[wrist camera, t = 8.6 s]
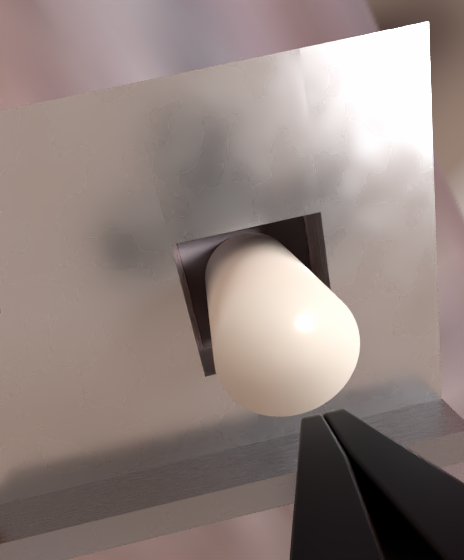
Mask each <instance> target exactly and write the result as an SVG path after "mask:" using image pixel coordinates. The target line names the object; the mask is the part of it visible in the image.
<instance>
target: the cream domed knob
mask: <svg viewBox="0 0 464 560" xmlns="http://www.w3.org/2000/svg"><path fill="white" fill-rule="evenodd" d="M205 285H206V294H207V303H208V312H209V321H210V331H211V340H212V349H213V358H214V365H215V371H216V374H217V377H218V380H219V382H220V383H221V385H222V387H223V389H224V390H225V391H226V393H227V394H228V395H229V396H230V397H231V398H232V399H233V400H234V401H235V402H237V403H238V404H239V405H241V406H242V407H244V408H246V409H248V410H250V411H252V412H255V413H258V414H262V415H267V416H275V417H284V416H293V415H299V414H302V413H305V412H308V411H311V410H313V409H316V408H318V407H319V406H321V405H323V404H325V403H326V402H327V401H329V400H330V399H332V398H333V397H334V396H335V395H336V394H337V393H338V392H339V391H340V390H341V389H342V388H343V387H344V386H345V384H346V383H347V382H348V380H349V379H350V377H351V375H352V373H353V371H354V369H355V367H356V364H357V361H358V357H359V351H360V336H359V330H358V326H357V323H356V320H355V319H354V317H353V315H352V313H351V311H350V310H349V309H348V307H347V306H346V305H345V304H344V303H343V302H342V301H341V300H340V299H339V298H338V297H337V296H336V295H335V294H334V293H333V292H332V291H331V290H330V289H329V288H328V287H327V286H326V285H325V284H324V283H322V282H321V281H320V280H319V279H318V278H317V277H316V276H315V275H314V274H313V273H312V272H311V271H310V270H309V269H308V268H307V267H306V266H305V265H304V264H303V263H301V262H300V261H299V260H298V259H297V258H296V257H295V256H294V255H293V254H292V253H291V252H290V251H289V250H288V249H287V248H286V247H285V246H284V245H283V244H282V243H280V242H279V241H278V240H276V239H275V238H273V237H271V236H269V235H266V234H262V233H256V232H247V233H241V234H238V235H235V236H233V237H230V238H229V239H227V240H225V241H224V242H223V243H221V244H220V245H219V246H218V247H217V248H216V249H215V251H214V252H213V253H212V255H211V257H210V258H209V261H208V263H207V267H206V271H205Z"/></svg>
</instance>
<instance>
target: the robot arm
mask: <svg viewBox="0 0 464 560" xmlns="http://www.w3.org/2000/svg"><path fill="white" fill-rule="evenodd" d="M290 560H464V483H463V482H461V481H460V480H458V479H457V478H455V477H453V476H452V475H450V474H449V473H447V472H445V471H444V470H442V469H441V468H439V467H437V466H436V465H434V464H432V463H431V462H429V461H428V460H426V459H424V458H423V457H421V456H420V455H418V454H416V453H415V452H413V451H412V450H410V449H408V448H407V447H405V446H403V445H402V444H400V443H399V442H397V441H395V440H394V439H392V438H391V437H389V436H387V435H386V434H384V433H383V432H381V431H379V430H378V429H376V428H374V427H373V426H371V425H370V424H368V423H366V422H365V421H363V420H362V419H360V418H358V417H357V416H355V415H354V414H352V413H350V412H349V411H347V410H345V409H342V408H341V409H336V410H332V411H328V412H325V413H324V414H323V416H322V415H321V414H315V415H311V416H307V417H303V418H302V419H301V425H300V438H299V450H298V463H297V475H296V487H295V500H294V512H293V525H292V537H291V549H290Z"/></svg>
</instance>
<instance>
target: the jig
mask: <svg viewBox="0 0 464 560" xmlns="http://www.w3.org/2000/svg"><path fill="white" fill-rule="evenodd" d="M429 51H430V50H429V22H424V23H420V24H415V25H410V26H405V27H400V28H395V29H391V30H386V31H381V32H376V33H371V34H367V35H362V36H357V37H352V38H347V39H343V40H338V41H333V42H328V43H323V44H319V45H314V46H309V47H304V48H299V49H295V50H290V51H285V52H280V53H275V54H271V55H266V56H261V57H256V58H251V59H247V60H242V61H237V62H232V63H227V64H223V65H218V66H213V67H208V68H203V69H198V70H194V71H189V72H184V73H179V74H174V75H170V76H165V77H160V78H155V79H150V80H146V81H141V82H136V83H131V84H126V85H122V86H117V87H112V88H107V89H102V90H98V91H93V92H88V93H83V94H78V95H74V96H69V97H64V98H59V99H54V100H50V101H45V102H40V103H35V104H30V105H26V106H21V107H16V108H11V109H6V110H1V111H0V560H65V559H69V558H73V557H77V556H81V555H85V554H89V553H94V552H98V551H102V550H106V549H110V548H114V547H118V546H122V545H126V544H130V543H134V542H138V541H142V540H146V539H150V538H155V537H159V536H163V535H167V534H171V533H175V532H179V531H183V530H187V529H191V528H195V527H199V526H203V525H207V524H211V523H216V522H220V521H224V520H228V519H232V518H236V517H240V516H244V515H248V514H252V513H256V512H260V511H264V510H268V509H272V508H277V507H281V506H285V505H289V504H293V503H294V500H295V487H296V475H297V463H298V450H299V438H300V425H301V419H302V418H303V417H307V416H311V415H315V414H321V415H322V416H323V414H324V413H325V412H328V411H332V410H336V409H341V408H342V409H345V410H347V411H349V412H350V413H352V414H354V415H355V416H357V417H358V418H360V419H362V420H363V421H365V422H366V423H368V424H370V425H371V426H373V427H374V428H376V429H378V430H379V431H381V432H383V433H384V434H386V435H387V436H389V437H391V438H392V439H394V440H395V441H397V442H399V443H400V444H402V445H403V446H405V447H407V448H408V449H410V450H412V451H413V452H415V453H416V454H418V455H420V456H421V457H423V458H424V459H426V460H428V461H429V462H431V463H432V464H434V465H436V466H437V467H443V466H447V465H451V464H456V463H460V462H464V420H463V419H462V418H461V417H460V416H459V415H458V414H457V413H456V412H455V411H454V410H453V409H452V408H451V407H450V406H449V405H448V404H447V403H446V402H445V401H444V400H442V399H441V370H440V341H439V312H438V282H437V253H436V224H435V195H434V166H433V137H432V108H431V79H430V52H429ZM299 216H304V222H305V229H306V236H307V242H308V249H309V256H310V263H311V270H312V273H313V274H314V275H315V276H316V277H317V278H318V279H319V280H320V281H321V282H322V283H324V284H325V285H326V286H327V287H328V288H329V289H330V290H331V291H332V292H333V293H334V294H335V295H336V296H337V297H338V298H339V299H340V300H341V301H342V302H343V303H344V304H345V305H346V306H347V307H348V309H349V310H350V311H351V313H352V315H353V317H354V319H355V320H356V323H357V326H358V330H359V336H360V351H359V357H358V361H357V364H356V367H355V369H354V371H353V373H352V375H351V377H350V379H349V380H348V382H347V383H346V384H345V386H344V387H343V388H342V389H341V390H340V391H339V392H338V393H337V394H336V395H335V396H334V397H333V398H332V399H330V400H329V401H327V402H326V403H325V404H323V405H321V406H319V407H318V408H316V409H313V410H311V411H308V412H305V413H302V414H299V415H293V416H284V417H275V416H267V415H262V414H258V413H255V412H252V411H250V410H248V409H246V408H244V407H242V406H241V405H239V404H238V403H237V402H235V401H234V400H233V399H232V398H231V397H230V396H229V395H228V394H227V393H226V391H225V390H224V389H223V387H222V385H221V383H220V382H219V380H218V377H217V374H216V371H215V365H214V358H213V349H212V346H208V347H203V344H202V340H201V336H200V332H199V329H198V325H197V321H196V317H195V313H194V309H193V305H192V301H191V297H190V293H189V289H188V285H187V282H186V278H185V274H184V270H183V266H182V262H181V258H180V254H179V250H178V246H177V244H178V243H182V242H187V241H191V240H196V239H200V238H205V237H209V236H214V235H218V234H223V233H227V232H232V231H236V230H241V229H245V228H250V227H254V226H259V225H263V224H268V223H272V222H277V221H281V220H286V219H290V218H295V217H299Z"/></svg>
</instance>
